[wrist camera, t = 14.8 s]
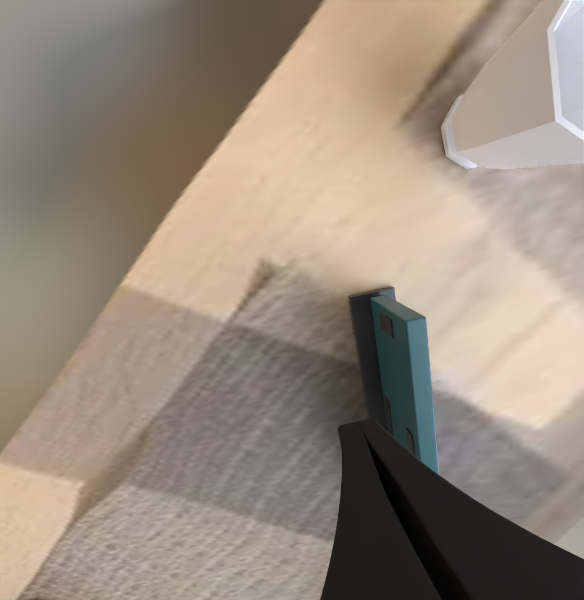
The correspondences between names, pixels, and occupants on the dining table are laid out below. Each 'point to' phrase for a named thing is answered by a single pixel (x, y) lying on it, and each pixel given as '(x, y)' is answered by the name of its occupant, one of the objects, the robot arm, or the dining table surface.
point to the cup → (525, 97)
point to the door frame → (369, 351)
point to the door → (406, 377)
